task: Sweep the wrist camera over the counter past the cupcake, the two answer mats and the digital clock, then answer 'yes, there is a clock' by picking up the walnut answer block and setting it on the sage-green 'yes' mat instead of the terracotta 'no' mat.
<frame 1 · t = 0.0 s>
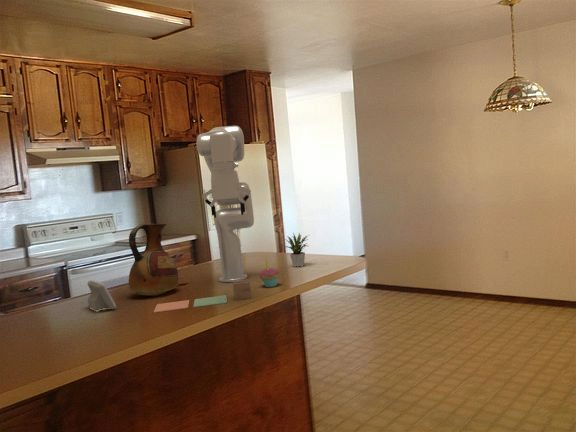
hand: (228, 216, 184), 31 cm above the table, fingers open, 9 cm apart
cupcake: (270, 286, 209), on the table
ceramic pitcher: (155, 294, 217), on the table
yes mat: (210, 301, 192), on the table
answer block: (242, 297, 194), on the table
digital clock: (103, 308, 200), on the table
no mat: (172, 306, 190), on the table
house plant: (300, 266, 246), on the table
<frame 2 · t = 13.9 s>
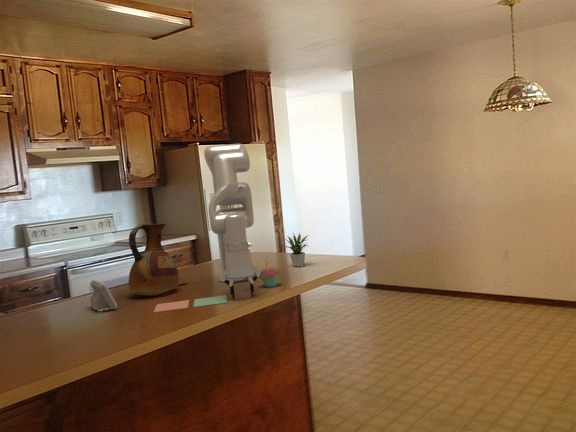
hand: (242, 294, 194), 1 cm above the table, fingers closed on answer block, 6 cm apart
answer block: (242, 297, 194), on the table, touching gripper
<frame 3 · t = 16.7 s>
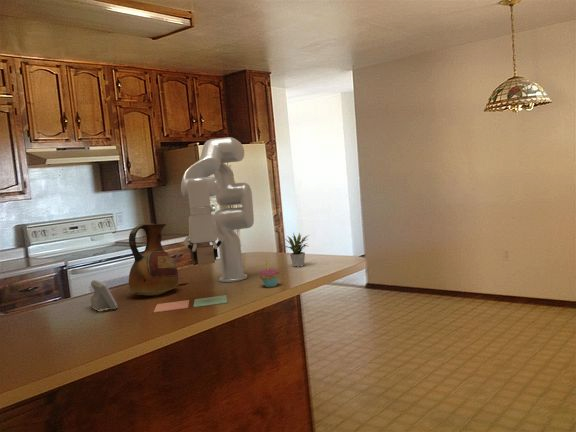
hand: (206, 260, 191), 16 cm above the table, fingers closed on answer block, 6 cm apart
answer block: (206, 262, 191), point 15 cm above the table, touching gripper
everything else where it was.
when the fingers open (2 cm above the table, at t = 19.7 s): answer block drops 1 cm, resting on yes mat.
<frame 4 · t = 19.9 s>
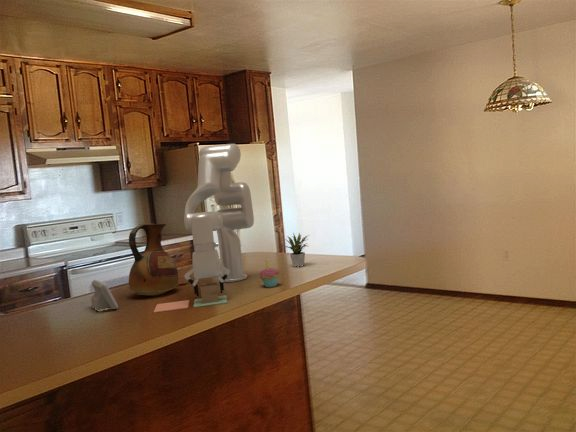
hand: (209, 294, 192), 3 cm above the table, fingers open, 8 cm apart
answer block: (210, 300, 192), resting on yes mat
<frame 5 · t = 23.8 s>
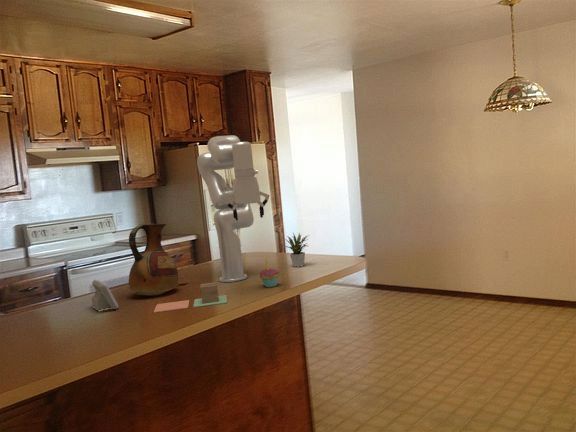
hand: (249, 218, 200), 28 cm above the table, fingers open, 9 cm apart
at the end: answer block inside the target area (0.0 cm from its centre), resting on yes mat; answer block tilted 0°; answer block touching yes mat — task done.
